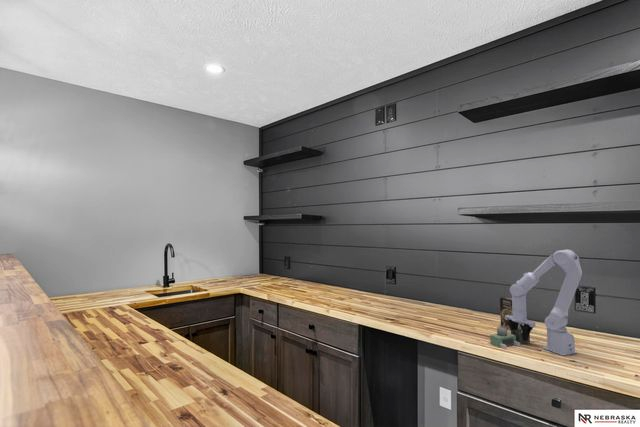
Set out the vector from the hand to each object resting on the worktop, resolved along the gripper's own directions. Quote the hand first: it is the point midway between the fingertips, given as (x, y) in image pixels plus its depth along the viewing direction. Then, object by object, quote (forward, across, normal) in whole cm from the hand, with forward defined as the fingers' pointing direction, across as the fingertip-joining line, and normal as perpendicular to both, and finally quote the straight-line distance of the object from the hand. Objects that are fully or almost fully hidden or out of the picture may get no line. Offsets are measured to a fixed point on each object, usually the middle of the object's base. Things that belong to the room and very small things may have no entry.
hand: (520, 338), depth 160 cm
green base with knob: (+1, +1, -10) cm, 10 cm away
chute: (+1, 0, 0) cm, 1 cm away
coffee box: (+2, -16, +13) cm, 21 cm away
